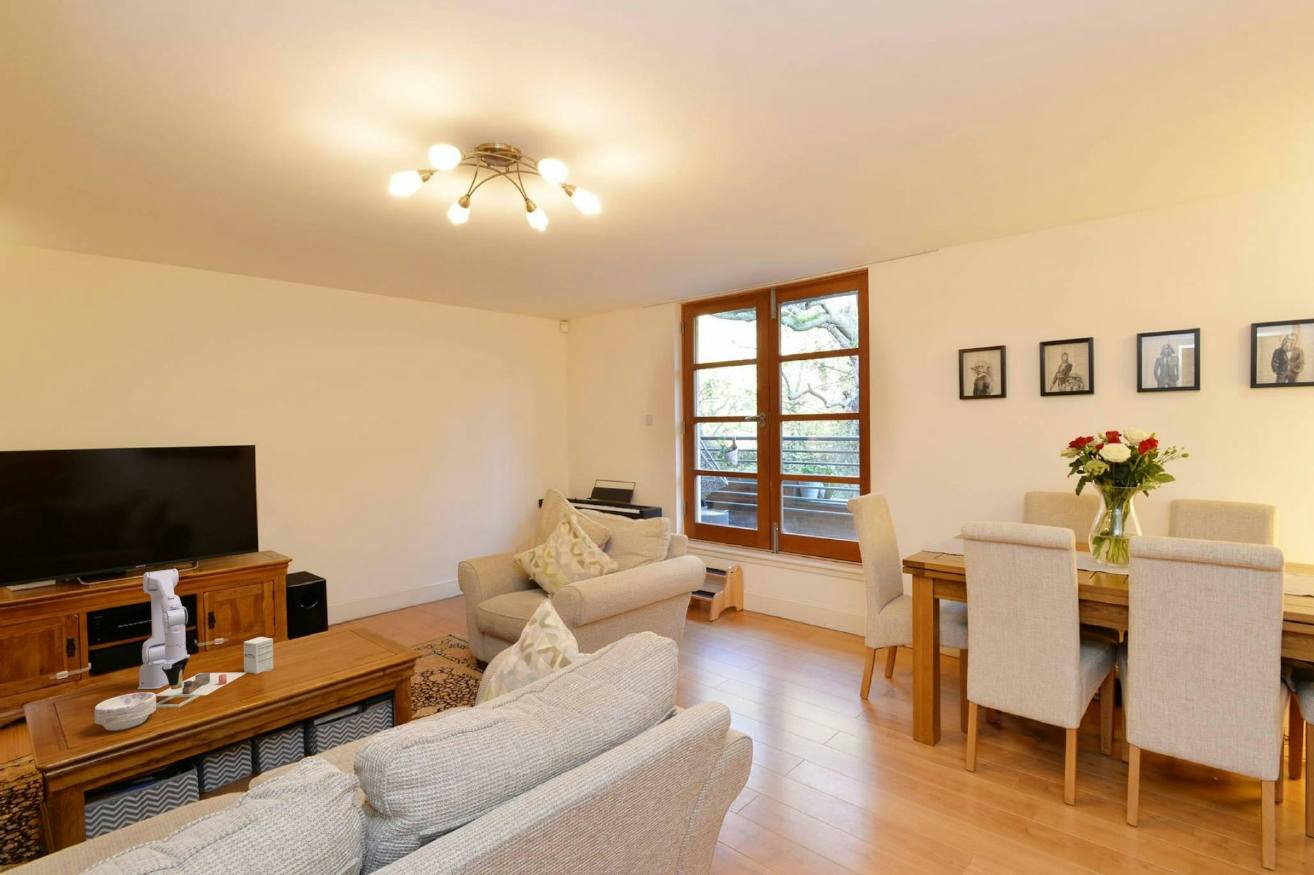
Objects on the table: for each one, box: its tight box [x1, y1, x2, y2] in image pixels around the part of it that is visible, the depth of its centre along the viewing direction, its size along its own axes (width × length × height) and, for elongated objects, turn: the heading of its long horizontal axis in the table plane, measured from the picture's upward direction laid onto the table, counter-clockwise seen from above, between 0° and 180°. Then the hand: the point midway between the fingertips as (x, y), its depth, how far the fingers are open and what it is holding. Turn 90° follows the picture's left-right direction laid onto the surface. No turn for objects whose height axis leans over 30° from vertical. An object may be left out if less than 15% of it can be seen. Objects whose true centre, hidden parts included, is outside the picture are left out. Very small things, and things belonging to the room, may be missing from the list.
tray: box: [156, 694, 200, 709], centre depth 217 cm, size 9×9×2 cm
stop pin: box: [170, 669, 183, 690], centre depth 217 cm, size 3×3×6 cm
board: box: [156, 671, 248, 697], centre depth 233 cm, size 19×22×1 cm
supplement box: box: [243, 636, 274, 675], centre depth 247 cm, size 7×7×13 cm
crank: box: [182, 672, 211, 694], centre depth 229 cm, size 13×4×4 cm, turn 9°
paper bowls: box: [94, 691, 157, 732], centre depth 201 cm, size 15×15×8 cm
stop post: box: [219, 674, 228, 686], centre depth 232 cm, size 2×2×3 cm
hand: (175, 683), depth 217 cm, fingers closed on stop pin, 3 cm apart
